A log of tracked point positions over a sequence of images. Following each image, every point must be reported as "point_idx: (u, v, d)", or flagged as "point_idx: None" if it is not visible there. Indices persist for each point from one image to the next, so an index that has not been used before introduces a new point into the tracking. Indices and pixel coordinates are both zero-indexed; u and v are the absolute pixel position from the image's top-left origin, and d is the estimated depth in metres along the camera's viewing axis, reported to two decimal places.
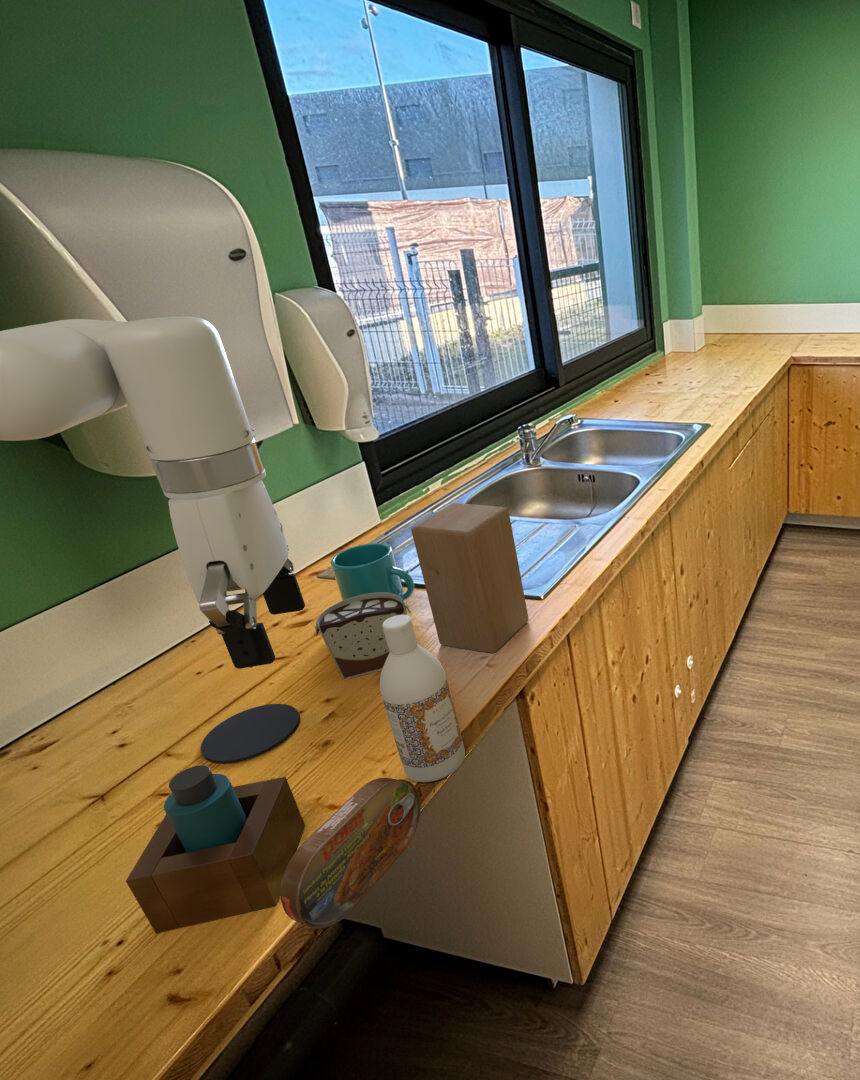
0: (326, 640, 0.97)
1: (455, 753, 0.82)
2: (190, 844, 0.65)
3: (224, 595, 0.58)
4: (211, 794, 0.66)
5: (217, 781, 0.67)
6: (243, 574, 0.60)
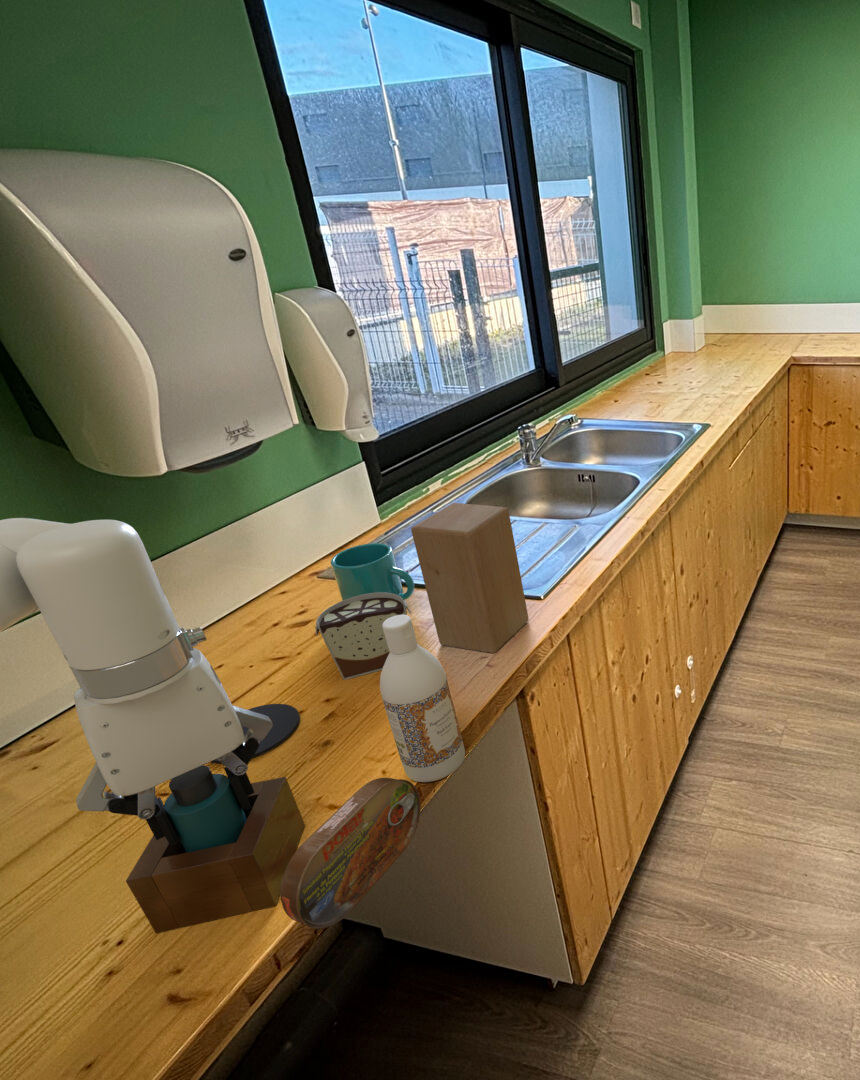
0: (326, 640, 0.97)
1: (455, 753, 0.82)
2: (190, 844, 0.65)
3: (99, 792, 0.60)
4: (211, 794, 0.66)
5: (217, 781, 0.67)
6: (104, 776, 0.59)
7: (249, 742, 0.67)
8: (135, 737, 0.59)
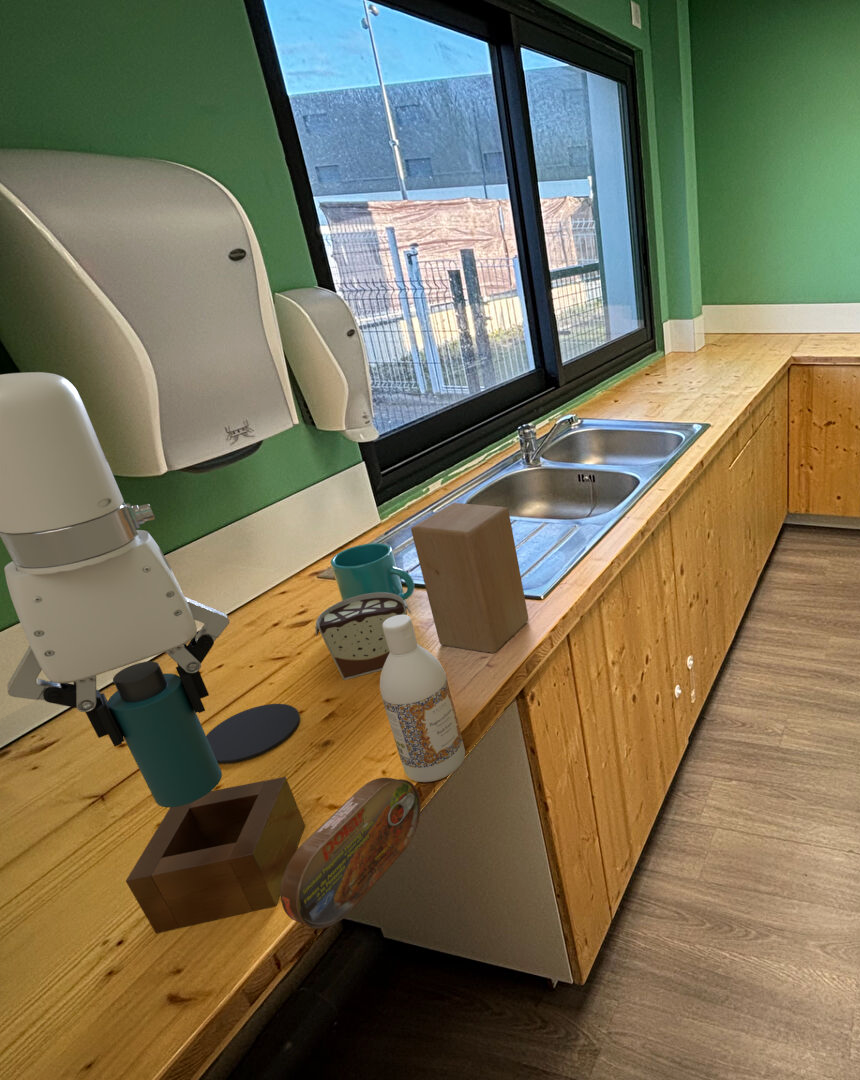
0: (326, 640, 0.97)
1: (455, 753, 0.82)
2: (136, 745, 0.60)
3: (33, 678, 0.55)
4: (160, 692, 0.61)
5: (168, 680, 0.62)
6: (37, 658, 0.54)
7: (203, 638, 0.62)
8: (72, 616, 0.54)
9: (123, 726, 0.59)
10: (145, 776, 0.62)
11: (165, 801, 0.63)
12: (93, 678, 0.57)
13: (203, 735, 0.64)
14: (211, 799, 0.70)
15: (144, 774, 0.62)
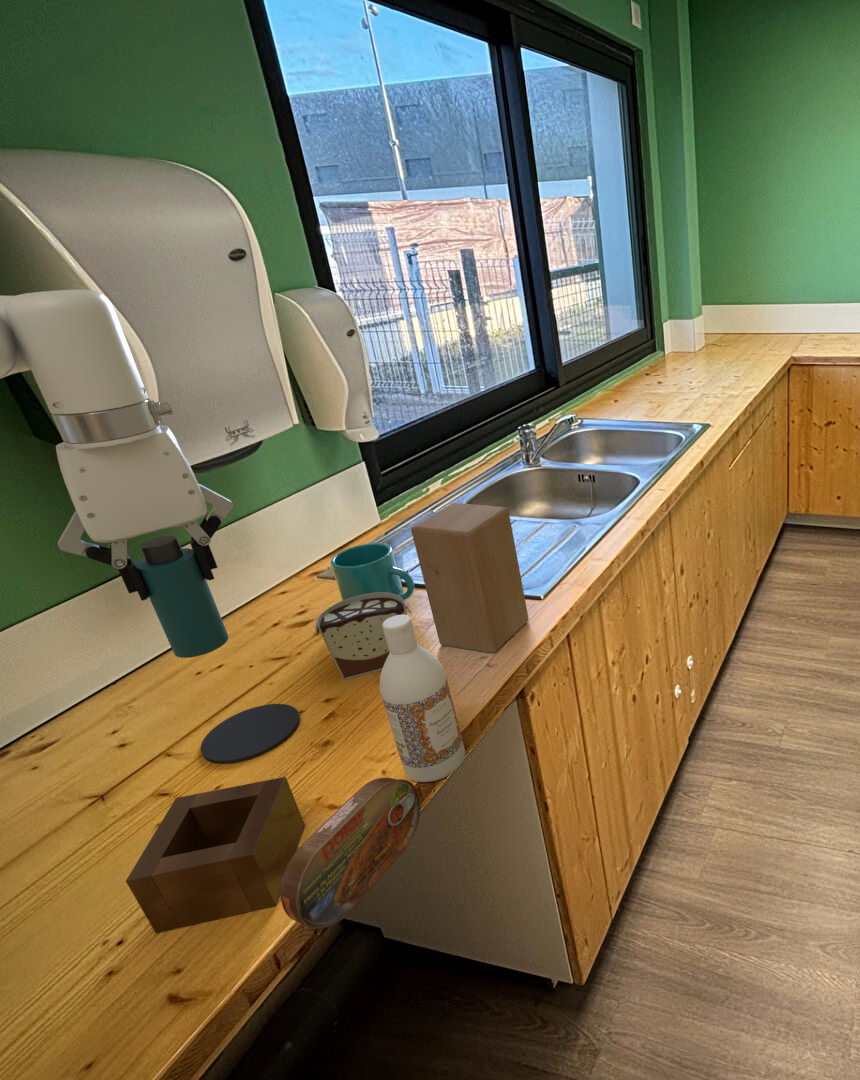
0: (326, 640, 0.97)
1: (455, 753, 0.82)
2: (159, 601, 0.74)
3: (77, 537, 0.69)
4: (177, 559, 0.75)
5: (184, 552, 0.76)
6: (81, 519, 0.68)
7: (212, 517, 0.76)
8: (108, 486, 0.68)
9: (148, 584, 0.73)
10: (166, 630, 0.76)
11: (182, 652, 0.77)
12: (124, 541, 0.71)
13: (213, 600, 0.78)
14: (211, 799, 0.70)
15: (165, 628, 0.76)
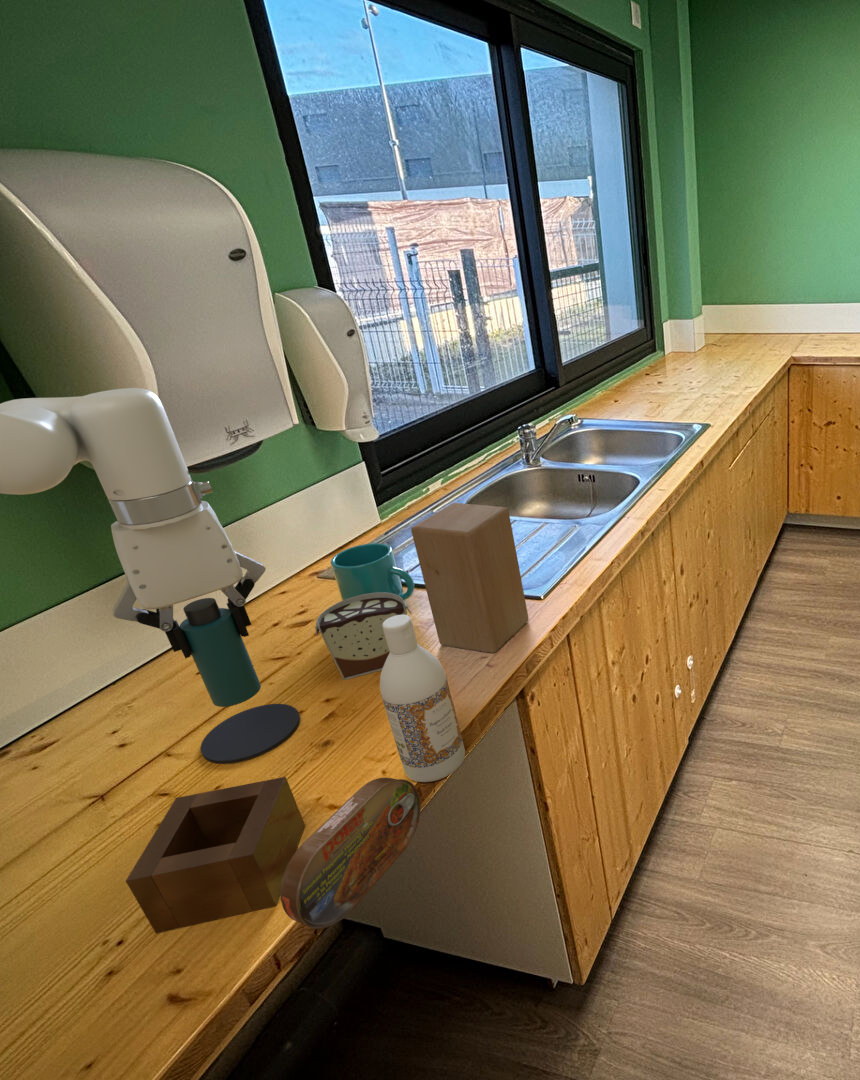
0: (326, 640, 0.97)
1: (455, 753, 0.82)
2: (200, 657, 0.82)
3: (130, 605, 0.77)
4: (216, 619, 0.83)
5: (221, 612, 0.84)
6: (134, 590, 0.76)
7: (246, 581, 0.84)
8: (158, 560, 0.76)
9: (191, 643, 0.82)
10: (206, 682, 0.84)
11: (220, 702, 0.85)
12: (171, 607, 0.79)
13: (247, 654, 0.87)
14: (211, 799, 0.70)
15: (205, 681, 0.84)
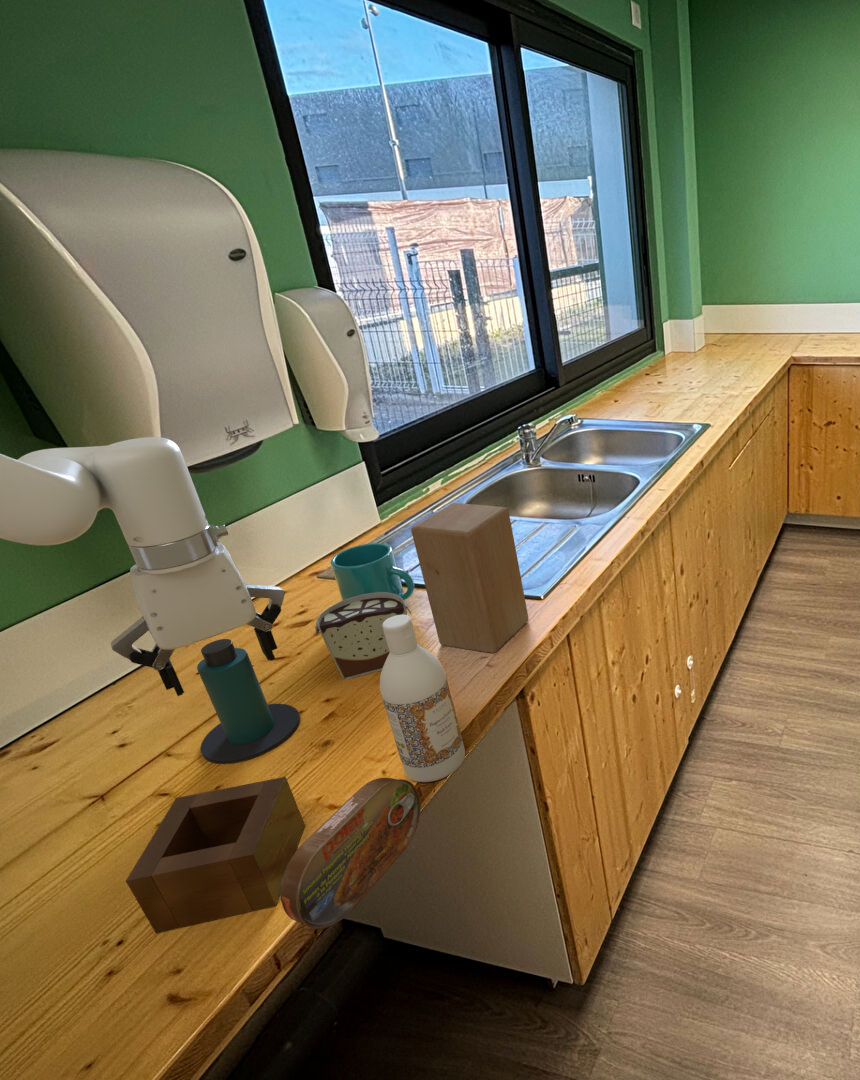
0: (326, 640, 0.97)
1: (455, 753, 0.82)
2: (217, 697, 0.85)
3: (131, 641, 0.78)
4: (233, 660, 0.85)
5: (237, 652, 0.87)
6: (151, 632, 0.78)
7: (274, 606, 0.87)
8: (175, 603, 0.78)
9: (208, 684, 0.84)
10: (222, 721, 0.87)
11: (236, 739, 0.87)
12: None
13: (261, 692, 0.89)
14: (211, 799, 0.70)
15: (221, 719, 0.86)
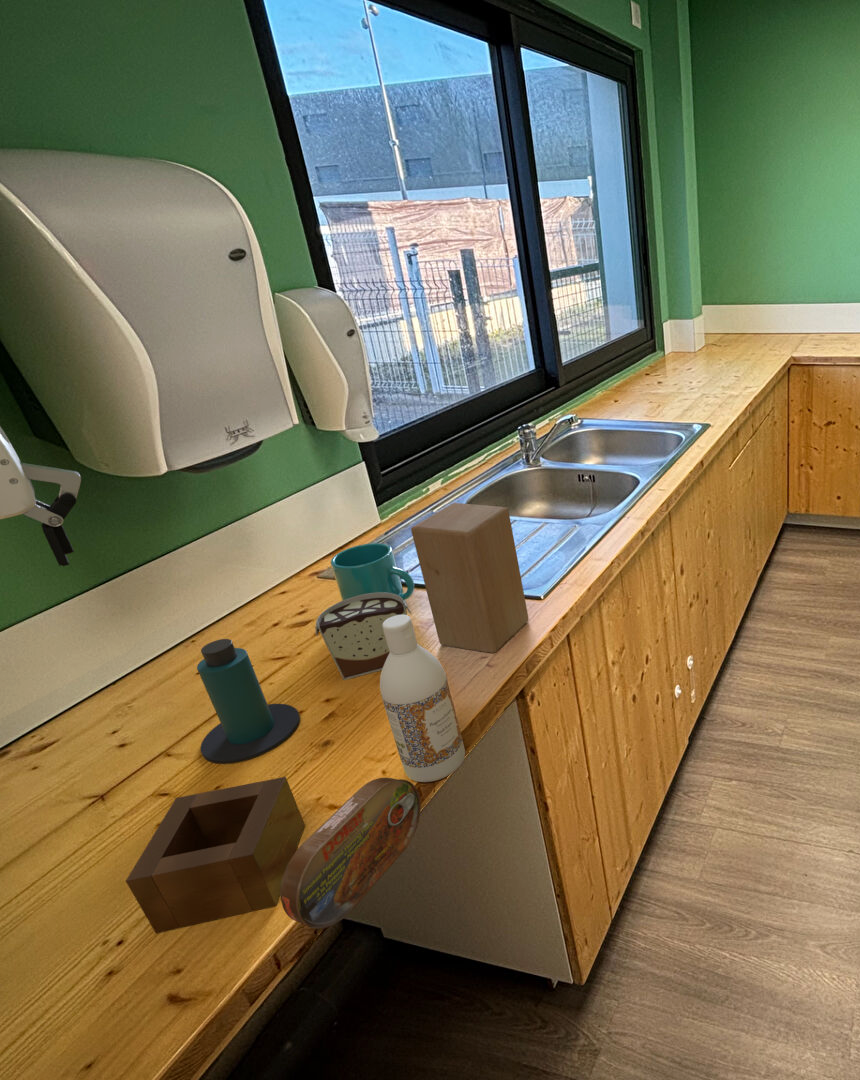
0: (326, 640, 0.97)
1: (455, 753, 0.82)
2: (217, 697, 0.85)
3: None
4: (233, 660, 0.85)
5: (237, 652, 0.87)
6: None
7: (65, 495, 0.68)
8: None
9: (208, 684, 0.84)
10: (222, 721, 0.87)
11: (236, 739, 0.87)
12: None
13: (261, 692, 0.89)
14: (211, 799, 0.70)
15: (221, 719, 0.86)
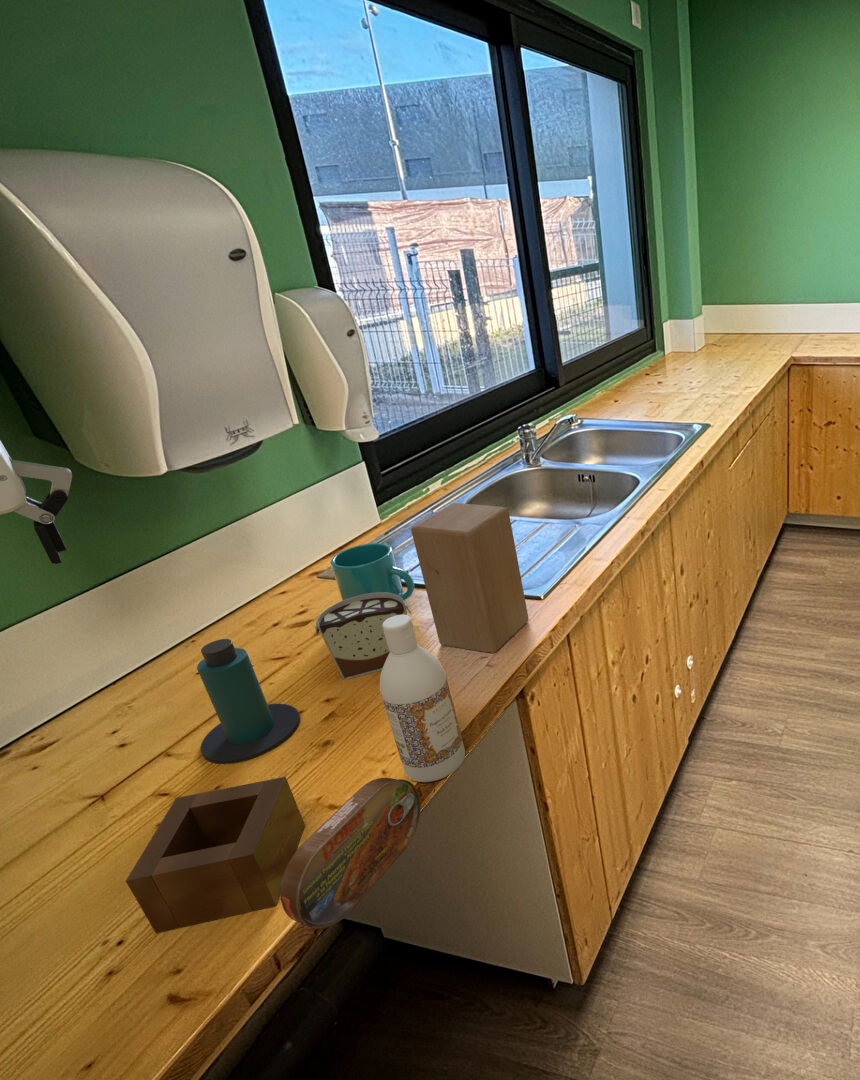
0: (326, 640, 0.97)
1: (455, 753, 0.82)
2: (217, 697, 0.85)
3: None
4: (233, 660, 0.85)
5: (237, 652, 0.87)
6: None
7: (56, 492, 0.67)
8: None
9: (208, 684, 0.84)
10: (222, 721, 0.87)
11: (236, 739, 0.87)
12: None
13: (261, 692, 0.89)
14: (211, 799, 0.70)
15: (221, 719, 0.86)
